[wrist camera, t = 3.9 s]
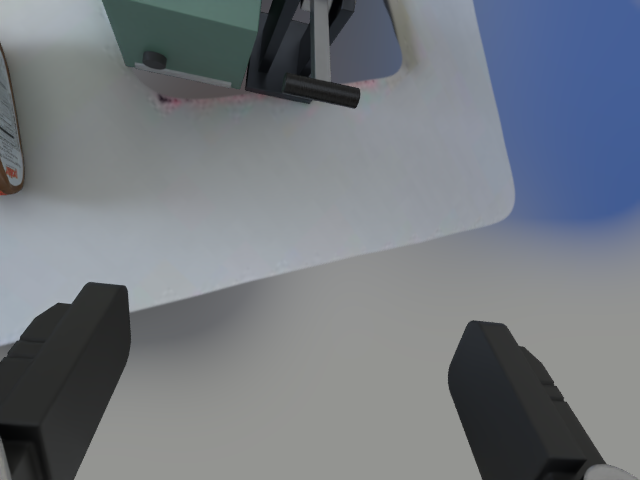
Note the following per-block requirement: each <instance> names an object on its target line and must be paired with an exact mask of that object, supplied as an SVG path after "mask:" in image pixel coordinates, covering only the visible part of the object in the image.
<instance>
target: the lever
mask: <svg viewBox="0 0 640 480" xmlns="http://www.w3.org/2000/svg"><path fill="white" fill-rule="evenodd" d="M332 3H333V0H301V9H302V10H305V11H309V12H310V38H311V78H310V77H306V76H301V75H297V74H293V73H288V72H286V73H285V75H284V78H283V83H282V93H283V94H287V95H292V96H297V97H301V98H306V99H311V100H316V101H320V102H325V103H330V104H335V105H339V106H344V107H349V108H356V107H357V105H358V103H359V99H360V89H359V88H355V87H350V86H346V85H341V84H337V83H332V82H331V68H330V44H329V20H328V14H329V11H330V8H331V6H332Z"/></svg>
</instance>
